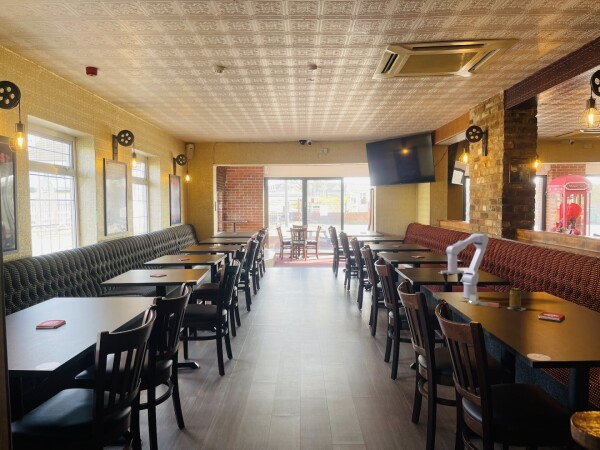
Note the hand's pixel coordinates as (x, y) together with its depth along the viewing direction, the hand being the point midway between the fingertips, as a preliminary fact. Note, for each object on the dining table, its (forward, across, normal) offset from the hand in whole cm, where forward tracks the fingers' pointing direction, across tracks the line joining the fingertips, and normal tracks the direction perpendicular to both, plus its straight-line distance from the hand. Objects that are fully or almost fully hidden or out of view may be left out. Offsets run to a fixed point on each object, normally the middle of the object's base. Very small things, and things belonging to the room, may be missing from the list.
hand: (452, 284), depth 284 cm
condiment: (+10, -31, +23) cm, 40 cm away
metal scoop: (+10, -15, +15) cm, 23 cm away
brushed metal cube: (+8, -10, +11) cm, 17 cm away
